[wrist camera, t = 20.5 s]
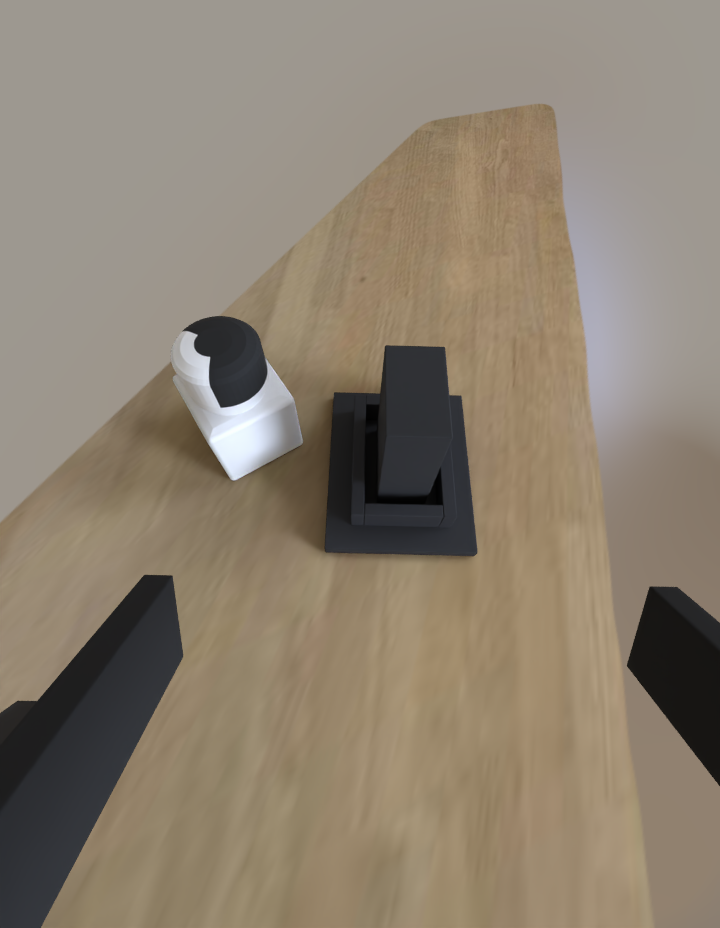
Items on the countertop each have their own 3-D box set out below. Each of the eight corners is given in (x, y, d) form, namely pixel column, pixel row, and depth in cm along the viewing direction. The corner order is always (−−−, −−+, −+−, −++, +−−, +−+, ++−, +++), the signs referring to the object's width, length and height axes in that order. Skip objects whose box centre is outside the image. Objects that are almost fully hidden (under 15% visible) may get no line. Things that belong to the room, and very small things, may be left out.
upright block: (376, 503, 35) (385, 436, 25) (376, 430, 38) (385, 345, 28) (425, 504, 35) (453, 437, 25) (421, 431, 38) (445, 346, 28)
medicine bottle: (268, 390, 41) (238, 289, 30) (304, 444, 38) (286, 355, 28) (199, 424, 39) (141, 329, 28) (232, 483, 37) (182, 403, 26)
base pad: (325, 552, 34) (322, 540, 31) (334, 398, 41) (332, 375, 38) (474, 556, 34) (486, 544, 31) (459, 401, 41) (467, 378, 38)
